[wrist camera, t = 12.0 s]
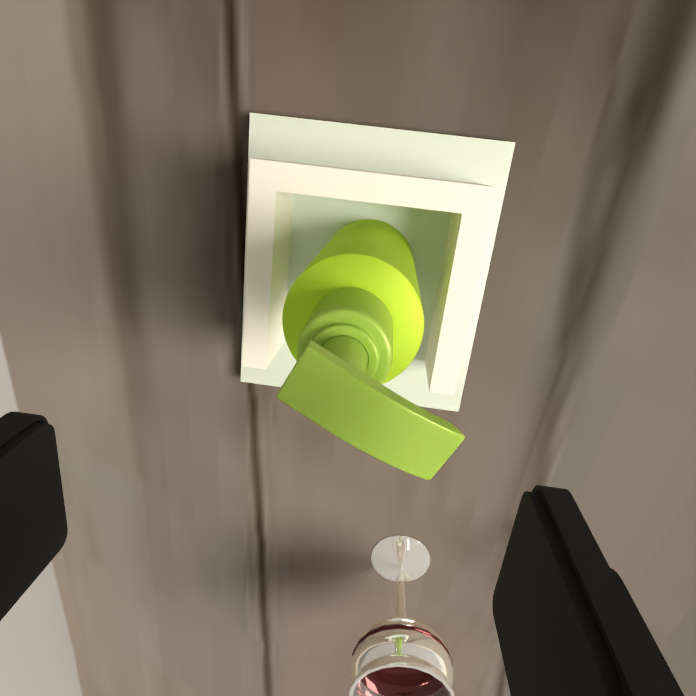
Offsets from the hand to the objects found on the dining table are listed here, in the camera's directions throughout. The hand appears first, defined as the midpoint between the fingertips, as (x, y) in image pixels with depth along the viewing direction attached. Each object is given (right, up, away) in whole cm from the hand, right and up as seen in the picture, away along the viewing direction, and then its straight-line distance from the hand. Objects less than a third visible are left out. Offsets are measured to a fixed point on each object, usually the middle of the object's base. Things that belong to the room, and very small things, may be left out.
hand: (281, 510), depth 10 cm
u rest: (+2, +8, +24) cm, 26 cm away
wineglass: (+6, -15, +32) cm, 36 cm away
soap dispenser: (+3, +8, +23) cm, 25 cm away
